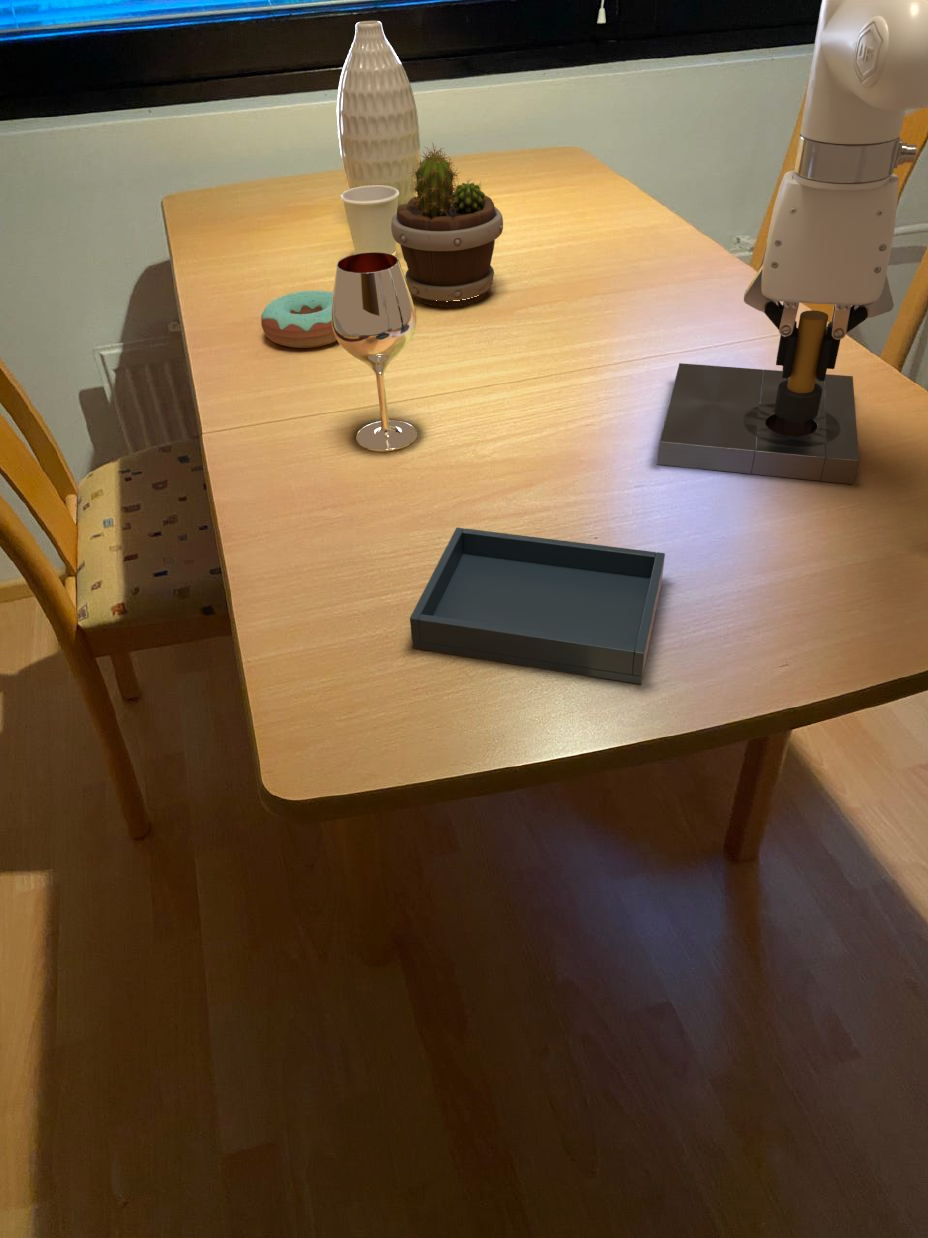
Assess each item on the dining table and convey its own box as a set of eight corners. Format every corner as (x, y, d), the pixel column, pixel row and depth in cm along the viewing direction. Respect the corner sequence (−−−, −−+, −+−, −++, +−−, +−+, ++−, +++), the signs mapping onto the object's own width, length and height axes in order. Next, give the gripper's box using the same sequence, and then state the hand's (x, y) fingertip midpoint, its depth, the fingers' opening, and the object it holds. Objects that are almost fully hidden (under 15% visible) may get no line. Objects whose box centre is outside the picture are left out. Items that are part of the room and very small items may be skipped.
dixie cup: (341, 272, 136) (332, 200, 130) (359, 253, 143) (351, 184, 136) (395, 274, 135) (389, 202, 128) (411, 255, 141) (406, 185, 135)
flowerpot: (425, 270, 135) (414, 118, 123) (522, 282, 130) (521, 124, 117) (376, 306, 125) (358, 144, 113) (479, 321, 120) (473, 152, 107)
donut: (244, 344, 118) (238, 313, 115) (300, 310, 126) (295, 280, 123) (322, 359, 113) (317, 327, 110) (374, 323, 121) (371, 292, 118)
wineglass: (440, 439, 96) (428, 263, 85) (372, 464, 93) (350, 284, 81) (399, 411, 101) (383, 241, 90) (333, 434, 98) (308, 261, 87)
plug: (817, 404, 90) (837, 308, 84) (817, 423, 87) (838, 324, 81) (774, 401, 91) (791, 305, 85) (773, 419, 88) (790, 322, 82)
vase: (370, 208, 161) (351, 15, 143) (437, 214, 157) (425, 16, 139) (334, 230, 152) (308, 28, 134) (404, 237, 148) (387, 29, 130)
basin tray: (661, 582, 76) (665, 552, 74) (641, 684, 67) (644, 653, 65) (458, 555, 80) (456, 526, 78) (412, 648, 71) (409, 618, 69)
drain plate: (847, 397, 99) (853, 375, 98) (852, 484, 86) (859, 460, 84) (676, 383, 104) (679, 362, 102) (656, 464, 90) (659, 441, 89)
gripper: (947, 149, 76) (892, 363, 88) (744, 146, 80) (717, 351, 91) (958, 173, 70) (898, 398, 82) (739, 169, 74) (711, 384, 86)
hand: (803, 372), depth 87 cm, fingers closed on plug, 2 cm apart
